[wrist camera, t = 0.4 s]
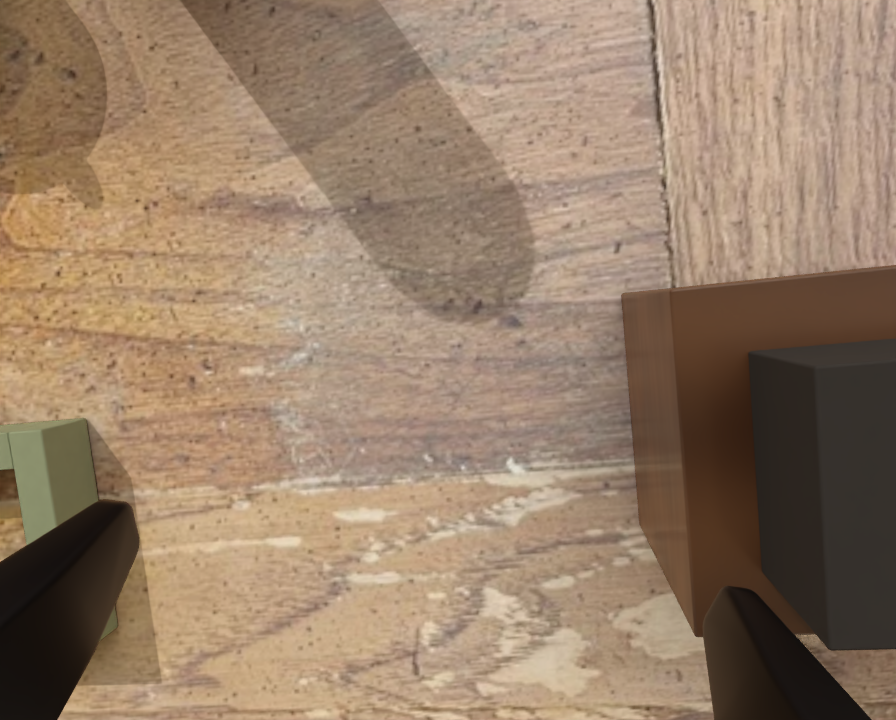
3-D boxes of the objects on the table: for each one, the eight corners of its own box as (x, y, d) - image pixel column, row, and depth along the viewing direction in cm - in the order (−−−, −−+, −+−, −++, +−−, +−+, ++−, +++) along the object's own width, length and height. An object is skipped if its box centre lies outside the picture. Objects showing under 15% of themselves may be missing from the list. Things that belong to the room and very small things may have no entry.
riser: (891, 512, 22) (1092, 629, 14) (639, 525, 23) (695, 638, 16) (880, 266, 21) (1086, 245, 14) (620, 293, 23) (669, 288, 15)
